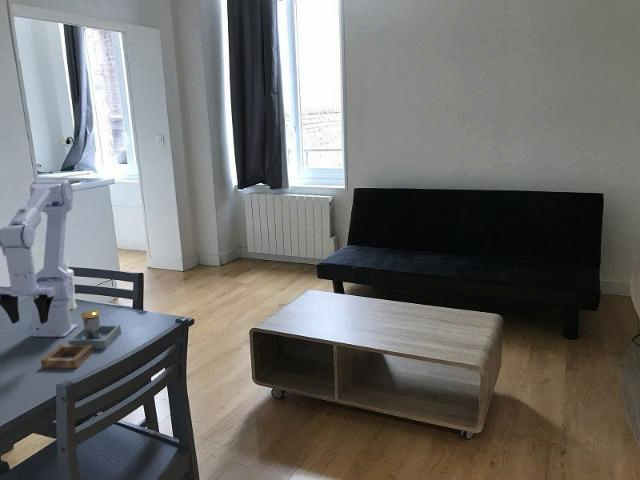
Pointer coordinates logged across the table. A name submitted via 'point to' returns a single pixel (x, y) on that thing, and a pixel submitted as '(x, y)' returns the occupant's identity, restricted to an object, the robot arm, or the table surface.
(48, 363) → the socket block
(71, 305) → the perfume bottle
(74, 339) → the tray
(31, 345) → the table surface
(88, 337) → the jar with gold lid
